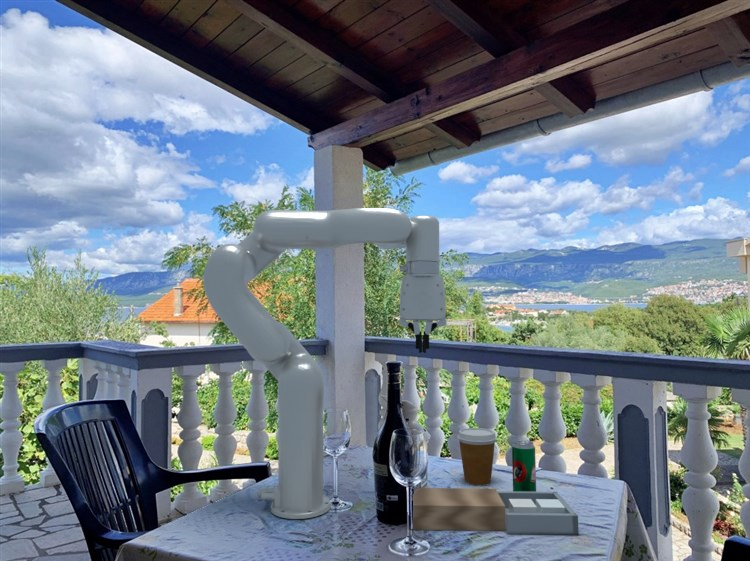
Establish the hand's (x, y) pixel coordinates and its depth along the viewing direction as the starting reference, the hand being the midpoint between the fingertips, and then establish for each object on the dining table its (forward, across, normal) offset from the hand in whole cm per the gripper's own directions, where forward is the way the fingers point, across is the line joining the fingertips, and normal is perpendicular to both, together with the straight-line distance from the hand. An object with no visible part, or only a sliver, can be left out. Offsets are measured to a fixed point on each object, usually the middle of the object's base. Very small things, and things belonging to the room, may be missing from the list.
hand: (422, 352), depth 116 cm
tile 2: (+29, +25, -10) cm, 39 cm away
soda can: (+32, +23, +4) cm, 40 cm away
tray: (+32, +22, -10) cm, 40 cm away
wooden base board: (+32, +6, -10) cm, 35 cm away
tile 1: (+32, +20, -10) cm, 39 cm away
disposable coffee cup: (+32, +14, +14) cm, 38 cm away
